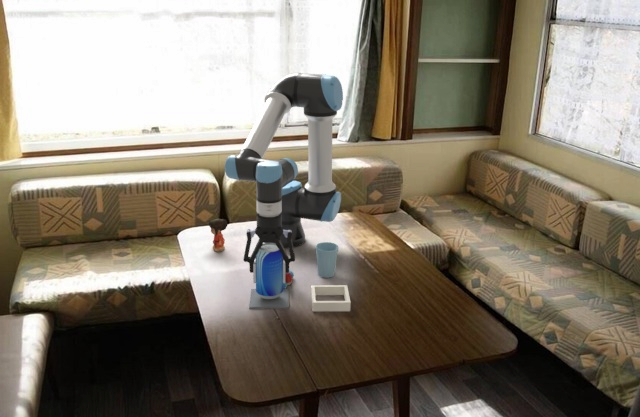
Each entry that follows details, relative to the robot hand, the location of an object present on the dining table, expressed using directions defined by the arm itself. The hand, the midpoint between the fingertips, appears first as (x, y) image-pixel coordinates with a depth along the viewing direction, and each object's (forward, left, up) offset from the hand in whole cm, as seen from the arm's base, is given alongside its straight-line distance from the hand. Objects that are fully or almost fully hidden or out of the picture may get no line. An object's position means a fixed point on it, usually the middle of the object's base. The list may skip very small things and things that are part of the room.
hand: (269, 281), depth 193 cm
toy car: (-12, +3, -7) cm, 14 cm away
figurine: (-40, -20, -7) cm, 45 cm away
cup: (-18, +19, -7) cm, 27 cm away
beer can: (0, 0, -5) cm, 5 cm away
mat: (0, 0, -6) cm, 6 cm away
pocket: (+2, +19, -6) cm, 20 cm away
